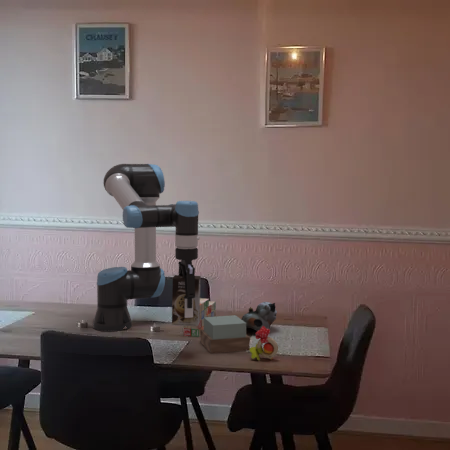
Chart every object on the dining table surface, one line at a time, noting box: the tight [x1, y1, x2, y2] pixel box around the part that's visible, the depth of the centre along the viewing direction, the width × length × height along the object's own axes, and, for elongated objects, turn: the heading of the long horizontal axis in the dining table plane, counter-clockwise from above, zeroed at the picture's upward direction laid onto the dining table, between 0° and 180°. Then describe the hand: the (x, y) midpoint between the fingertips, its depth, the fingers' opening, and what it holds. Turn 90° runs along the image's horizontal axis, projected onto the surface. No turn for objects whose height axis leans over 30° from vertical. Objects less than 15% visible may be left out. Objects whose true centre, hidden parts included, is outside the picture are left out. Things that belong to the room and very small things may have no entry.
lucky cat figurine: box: [240, 301, 278, 332], centre depth 238 cm, size 15×12×14 cm
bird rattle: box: [249, 326, 279, 361], centre depth 202 cm, size 6×11×9 cm
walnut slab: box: [199, 330, 251, 354], centre depth 217 cm, size 14×14×5 cm
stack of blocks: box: [183, 297, 217, 338], centre depth 239 cm, size 21×6×12 cm, turn 163°
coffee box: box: [171, 274, 202, 327], centre depth 205 cm, size 9×6×16 cm
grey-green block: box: [204, 314, 247, 340], centre depth 216 cm, size 12×12×5 cm
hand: (186, 314), depth 205 cm, fingers closed on coffee box, 8 cm apart
